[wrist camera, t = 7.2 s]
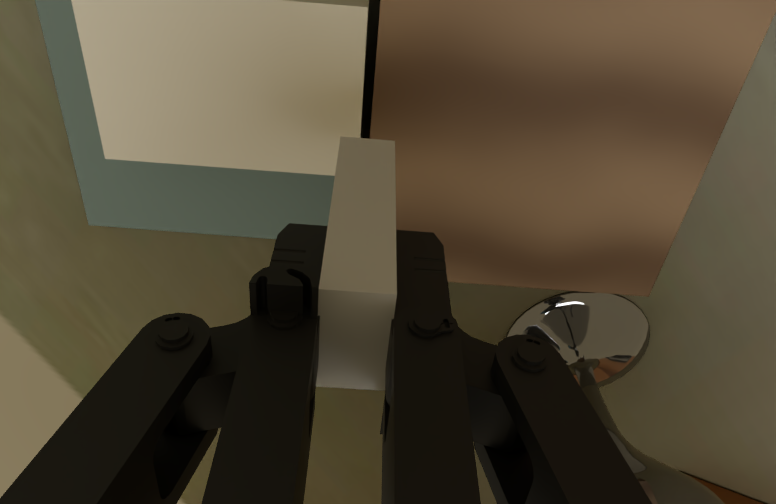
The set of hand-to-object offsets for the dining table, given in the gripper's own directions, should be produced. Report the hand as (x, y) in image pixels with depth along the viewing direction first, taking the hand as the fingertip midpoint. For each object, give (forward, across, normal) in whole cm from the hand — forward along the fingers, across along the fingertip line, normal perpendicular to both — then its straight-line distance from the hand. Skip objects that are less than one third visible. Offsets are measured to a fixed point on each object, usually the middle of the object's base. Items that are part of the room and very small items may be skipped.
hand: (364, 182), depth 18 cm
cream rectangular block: (+6, +5, -1) cm, 8 cm away
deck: (+7, -6, -1) cm, 9 cm away
